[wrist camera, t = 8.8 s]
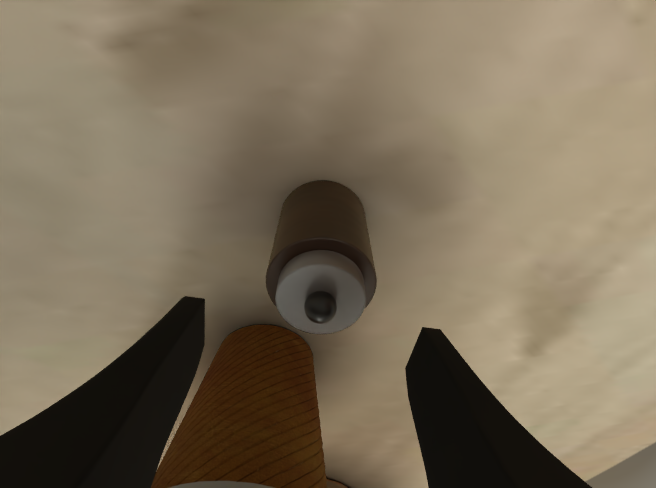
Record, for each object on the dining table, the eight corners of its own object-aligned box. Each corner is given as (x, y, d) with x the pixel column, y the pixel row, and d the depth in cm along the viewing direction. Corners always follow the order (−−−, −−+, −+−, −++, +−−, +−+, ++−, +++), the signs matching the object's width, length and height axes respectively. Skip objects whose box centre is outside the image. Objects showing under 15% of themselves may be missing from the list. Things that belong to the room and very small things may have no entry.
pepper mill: (276, 248, 20) (253, 354, 14) (286, 173, 18) (263, 258, 12) (355, 259, 21) (366, 367, 14) (373, 187, 19) (397, 277, 12)
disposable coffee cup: (181, 303, 23) (58, 543, 12) (338, 303, 23) (347, 543, 12) (207, 403, 27) (136, 632, 17) (336, 403, 27) (341, 632, 17)
